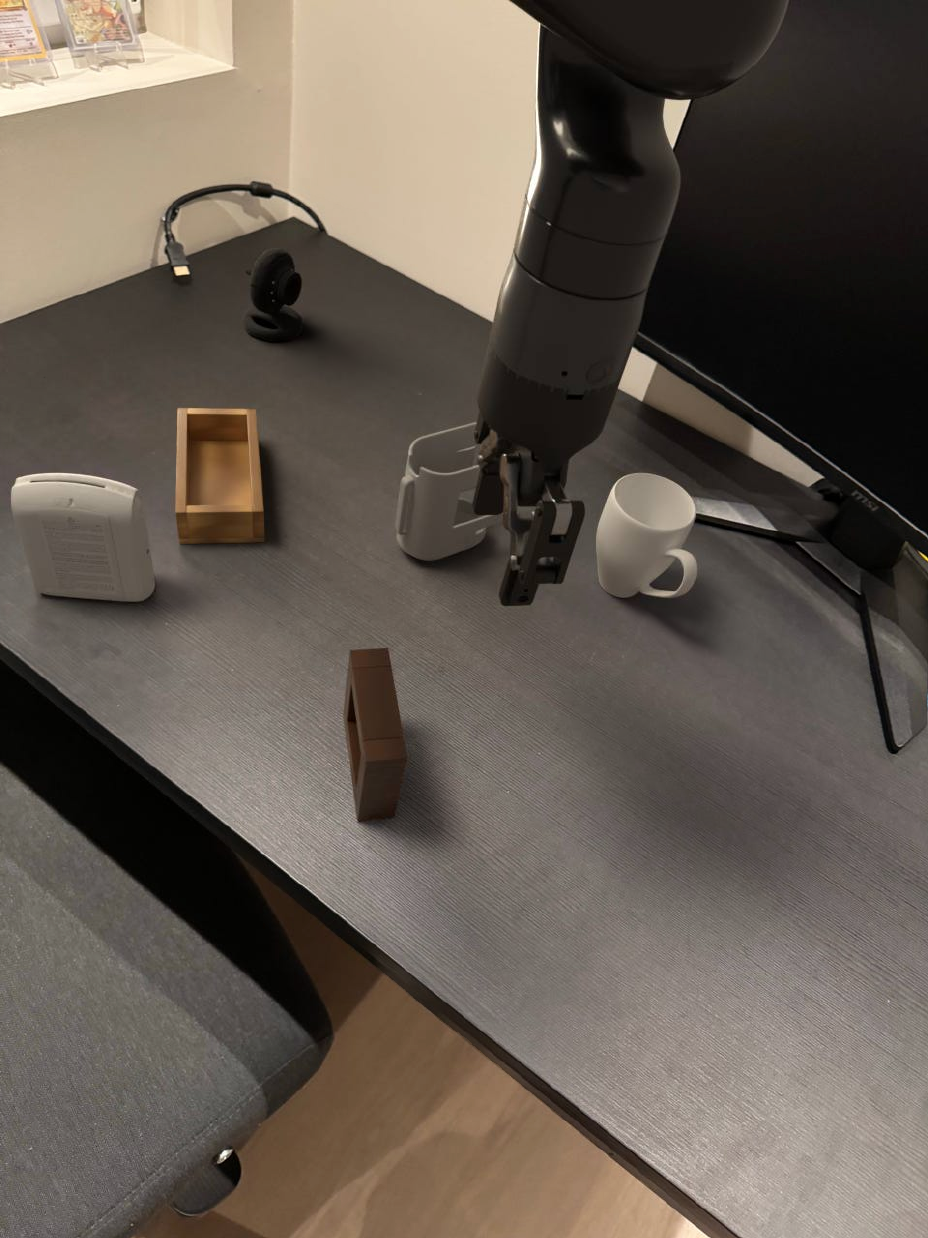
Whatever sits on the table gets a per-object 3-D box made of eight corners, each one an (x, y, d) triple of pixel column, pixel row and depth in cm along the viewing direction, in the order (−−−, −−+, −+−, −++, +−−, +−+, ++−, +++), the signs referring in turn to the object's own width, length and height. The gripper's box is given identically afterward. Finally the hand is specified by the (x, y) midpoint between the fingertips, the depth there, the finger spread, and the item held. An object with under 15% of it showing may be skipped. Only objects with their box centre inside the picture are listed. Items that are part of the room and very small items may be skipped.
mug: (564, 563, 88) (595, 480, 80) (628, 547, 91) (664, 464, 83) (627, 649, 82) (667, 568, 73) (693, 627, 85) (739, 547, 77)
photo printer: (160, 572, 78) (144, 468, 69) (151, 607, 76) (133, 503, 66) (43, 563, 77) (11, 456, 68) (29, 598, 74) (-7, 491, 65)
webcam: (280, 350, 105) (280, 273, 97) (230, 328, 106) (226, 251, 99) (314, 324, 110) (316, 249, 102) (265, 303, 111) (264, 228, 104)
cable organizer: (508, 541, 89) (533, 450, 80) (407, 577, 83) (423, 484, 74) (473, 502, 92) (494, 410, 83) (374, 534, 86) (385, 439, 77)
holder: (179, 544, 81) (175, 512, 78) (180, 439, 91) (177, 407, 88) (264, 542, 83) (263, 511, 80) (257, 439, 93) (256, 408, 90)
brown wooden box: (357, 822, 65) (365, 762, 59) (343, 715, 72) (349, 649, 65) (395, 818, 66) (408, 758, 59) (378, 712, 72) (388, 647, 66)
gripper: (466, 272, 49) (428, 486, 61) (525, 424, 40) (467, 639, 52) (586, 279, 51) (527, 485, 63) (668, 427, 42) (580, 633, 54)
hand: (500, 555), depth 57 cm, fingers open, 8 cm apart
